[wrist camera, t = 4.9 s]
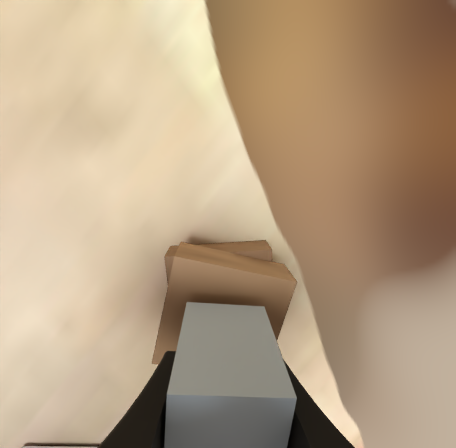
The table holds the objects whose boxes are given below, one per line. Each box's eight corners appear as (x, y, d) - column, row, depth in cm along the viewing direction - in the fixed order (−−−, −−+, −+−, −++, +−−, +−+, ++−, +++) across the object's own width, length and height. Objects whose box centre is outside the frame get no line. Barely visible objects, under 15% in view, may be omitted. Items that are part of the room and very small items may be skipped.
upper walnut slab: (256, 350, 17) (263, 381, 15) (161, 334, 16) (151, 363, 14) (284, 264, 16) (296, 282, 13) (180, 241, 15) (174, 256, 12)
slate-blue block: (254, 370, 13) (278, 490, 8) (182, 367, 13) (162, 490, 8) (264, 306, 12) (297, 398, 7) (186, 301, 12) (166, 394, 7)
